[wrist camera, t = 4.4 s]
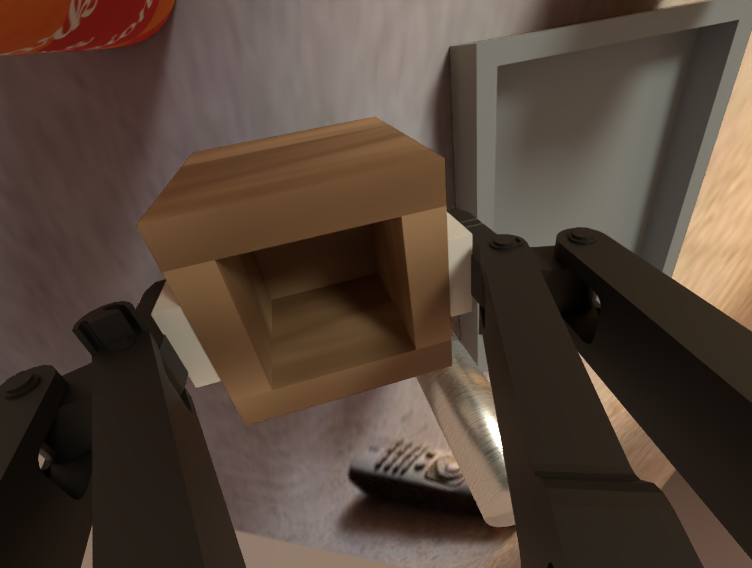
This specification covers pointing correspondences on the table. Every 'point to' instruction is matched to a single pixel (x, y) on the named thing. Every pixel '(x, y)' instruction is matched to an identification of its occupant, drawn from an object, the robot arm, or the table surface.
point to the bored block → (309, 263)
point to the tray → (594, 128)
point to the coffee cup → (78, 24)
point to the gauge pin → (471, 431)
